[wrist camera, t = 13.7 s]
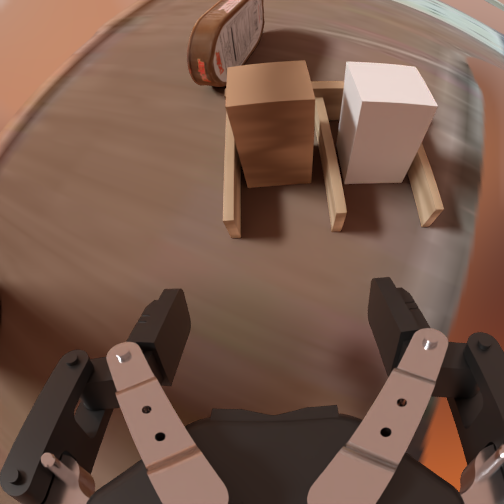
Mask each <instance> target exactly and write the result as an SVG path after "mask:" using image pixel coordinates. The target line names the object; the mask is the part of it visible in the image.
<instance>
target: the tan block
mask: <svg viewBox="0 0 504 504" xmlns="http://www.w3.org/2000/svg"><path fill="white" fill-rule="evenodd" d="M226 111H227V114H228V118H229V121H230V125H231V128H232V132H233V136H234V139H235V143H236V146H237V150H238V154H239V157H240V161H241V165H242V168H243V172H244V175H245V179H246V183H247V186H248V188H254V187H265V186H278V185H291V184H306V183H311V178H312V162H313V144H314V123H315V96H314V92H313V88H312V84H311V80H310V76H309V72H308V69H307V65H306V61H305V60H302V61H284V62H271V63H260V64H250V65H242V66H234V67H227V84H226Z"/></svg>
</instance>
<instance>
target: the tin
mask: <svg viewBox="0 0 504 504" xmlns="http://www.w3.org/2000/svg"><path fill="white" fill-rule="evenodd" d="M263 28H264V9H263V0H219V1H218V2H217V3H216V4H215V5H214V6H212V7H211V8H210V9H209V10H208V11H206V12H205V13H204V14H203V15H202V16H201V17H200V18H199V19H198V20H197V22H196V24H195V25H194V27H193V29H192V32H191V35H190V38H189V42H188V49H187V63H188V69H189V73H190V75H191V77H192V79H193V80H194V82H195V83H197V84H198V85H209V86H217V87H223V86H226V84H227V67H234V66H242V65H244V64H245V62H246V61H247V59H248V58H249V57H250V55H251V54H252V52H253V51H254V50H255V48H256V47H257V45H258V43H259V41H260V39H261V36H262V32H263Z"/></svg>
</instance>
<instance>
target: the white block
mask: <svg viewBox="0 0 504 504" xmlns="http://www.w3.org/2000/svg"><path fill="white" fill-rule="evenodd" d="M437 107H438V106H437V104H436V102H435V100H434V98H433V96H432V94H431V93H430V91H429V89H428V87H427V85H426V84H425V82H424V80H423V78H422V77H421V75H420V73H419V72H418V70H417V68H416V67H412V66H403V65H394V64H382V63H366V62H346V72H345V81H344V90H343V98H342V106H341V114H340V121H339V129H338V136H337V143H336V147H337V151H338V156H339V161H340V166H341V171H342V176H343V181H344V184H363V183H402V181H403V179H404V177H405V175H406V173H407V171H408V169H409V167H410V165H411V163H412V161H413V159H414V157H415V155H416V153H417V151H418V149H419V147H420V145H421V143H422V141H423V139H424V136H425V134H426V132H427V130H428V128H429V126H430V123H431V121H432V119H433V117H434V114H435V112H436V110H437Z"/></svg>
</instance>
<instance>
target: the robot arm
mask: <svg viewBox="0 0 504 504" xmlns="http://www.w3.org/2000/svg"><path fill="white" fill-rule="evenodd" d="M368 320H369V324H370V327H371V329H372V332H373V335H374V337H375V340H376V343H377V346H378V349H379V351H380V354H381V357H382V360H383V363H384V366H385V369H386V372H387V375H388V379H387V381H386V383H385V385H384V386H383V388H382V390H381V392H380V393H379V395H378V397H377V398H376V400H375V402H374V403H373V405H372V406H371V408H370V410H369V411H368V413H367V414H366V416H365V417H364V419H363V420H361V419H358V418H356V417H353V416H349V415H345V414H338V408H337V405H332V406H321V407H307V408H303V409H299V410H295V411H292V412H288V413H284V414H279V415H267V414H262V413H257V412H252V411H247V410H243V409H212V413H211V417H209V418H204V419H201V420H198V421H195V422H193V423H191V424H188V425H187V426H185V427H184V425H183V424H182V422H181V420H180V419H179V417H178V415H177V414H176V412H175V410H174V408H173V407H172V405H171V403H170V402H169V400H168V398H167V396H166V395H165V393H164V391H163V389H162V387H161V385H164V386H171V385H172V382H173V379H174V376H175V373H176V370H177V367H178V364H179V361H180V358H181V356H182V353H183V350H184V347H185V344H186V341H187V338H188V335H189V332H190V328H191V321H190V315H189V312H188V308H187V304H186V300H185V296H184V292H183V290H182V289H164V291H163V292H162V294H161V296H160V298H159V300H154V301H153V302H152V303H150V304H149V305H148V306H147V307H146V308H145V310H144V311H143V313H142V316H141V317H140V318H139V320H138V323H137V324H136V325H135V327H134V329H133V331H132V332H131V334H130V336H129V338H128V340H127V341H126V342H123V343H120V344H117V345H115V346H114V347H113V348H111V349H110V350H109V352H108V353H107V357H102V358H95V359H90V358H89V356H88V354H87V353H86V352H85V351H83V350H73V351H70V352H68V353H66V354H65V355H64V356H63V357H62V358H61V359H60V360H59V362H58V364H57V365H56V367H55V369H54V370H53V372H52V374H51V375H50V377H49V379H48V381H47V382H46V384H45V386H44V387H43V389H42V391H41V393H40V394H39V396H38V398H37V400H36V402H35V403H34V405H33V407H32V409H31V411H30V413H29V415H28V416H27V418H26V420H25V422H24V424H23V426H22V428H21V430H20V432H19V434H18V436H17V438H16V440H15V442H14V444H13V446H12V448H11V450H10V453H9V455H8V457H7V459H6V461H5V463H4V466H3V468H2V470H1V473H0V484H1V487H2V489H3V490H4V491H5V492H6V493H7V494H8V495H10V496H11V497H13V498H14V499H16V500H17V501H18V502H20V503H21V504H504V352H503V350H502V349H501V347H500V345H499V343H498V342H497V341H496V339H495V338H494V337H492V336H491V335H489V334H486V333H481V332H478V333H474V334H472V335H471V336H470V337H469V338H468V341H467V343H454V342H448V340H447V338H446V336H445V335H444V334H443V333H442V332H440V331H438V330H435V329H431V328H430V326H429V325H428V323H427V321H426V319H425V318H424V316H423V314H422V313H421V311H420V309H418V306H417V304H416V303H415V301H414V299H413V298H412V296H411V295H410V293H408V292H407V291H406V290H404V289H403V288H396V287H395V285H394V283H393V281H392V280H391V278H390V277H384V278H373V279H372V281H371V288H370V297H369V305H368ZM431 396H435V397H447V400H448V403H449V406H450V409H451V412H452V415H453V418H454V421H455V424H456V427H457V430H458V434H459V437H460V440H461V444H462V447H463V451H464V454H465V458H466V462H467V467H466V468H465V469H464V470H463V472H462V475H461V479H460V483H461V488H460V492H458V490H456V489H455V488H454V487H453V486H452V485H451V484H449V483H448V482H446V481H445V480H444V479H442V478H441V477H439V476H438V475H436V474H435V473H434V472H432V471H431V470H429V469H428V468H427V467H425V466H424V465H422V464H421V463H420V462H418V461H417V460H416V459H414V458H413V457H412V456H410V455H409V454H408V453H406V452H405V451H406V450H407V448H408V446H409V444H410V442H411V440H412V438H413V435H414V433H415V431H416V429H417V427H418V425H419V423H420V420H421V418H422V416H423V414H424V411H425V409H426V407H427V404H428V402H429V399H430V397H431ZM78 400H80V401H81V402H80V405H79V407H78V409H77V411H76V413H75V416H74V409H75V407H76V405H77V402H78ZM119 407H120V408H121V411H122V413H123V416H124V418H125V421H126V423H127V426H128V428H129V431H130V433H131V435H132V438H133V440H134V442H135V445H136V447H137V449H138V451H139V454H140V456H141V458H142V459H141V460H140V461H138V462H137V463H136V464H134V465H133V466H132V467H130V468H129V469H127V470H126V471H125V472H123V473H122V474H120V475H119V476H117V477H116V478H115V479H113V480H112V481H110V482H109V483H107V484H106V485H104V486H103V487H101V488H100V489H98V490H97V491H96V492H95V482H94V479H93V477H92V476H91V472H92V469H93V466H94V463H95V459H96V457H97V454H98V451H99V448H100V445H101V442H102V439H103V436H104V433H105V431H106V428H107V425H108V422H109V420H110V417H111V414H112V411H113V409H114V408H119Z"/></svg>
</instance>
